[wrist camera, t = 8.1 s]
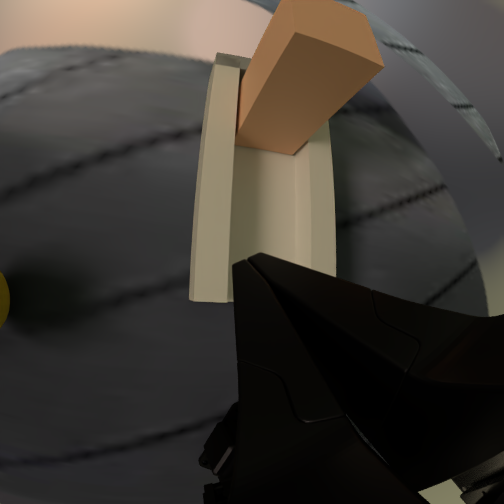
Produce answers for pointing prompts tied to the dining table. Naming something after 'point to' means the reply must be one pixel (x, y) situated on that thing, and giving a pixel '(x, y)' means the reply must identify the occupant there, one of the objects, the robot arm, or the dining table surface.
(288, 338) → the robot arm
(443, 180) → the dining table surface
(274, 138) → the block
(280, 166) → the chute
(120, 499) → the dining table surface
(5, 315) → the lemon
